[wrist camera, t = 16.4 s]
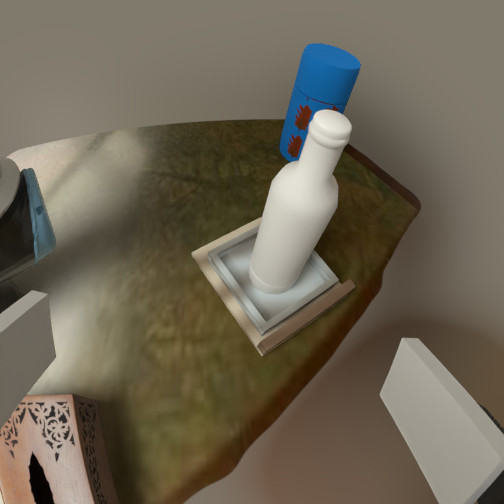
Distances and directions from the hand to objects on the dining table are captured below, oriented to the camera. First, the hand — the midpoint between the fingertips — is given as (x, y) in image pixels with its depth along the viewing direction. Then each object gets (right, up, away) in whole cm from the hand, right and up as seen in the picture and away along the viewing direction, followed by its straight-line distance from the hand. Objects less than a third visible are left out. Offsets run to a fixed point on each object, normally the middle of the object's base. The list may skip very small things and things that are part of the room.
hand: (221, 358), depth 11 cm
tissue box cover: (-25, -30, +22) cm, 45 cm away
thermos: (+12, +26, +60) cm, 66 cm away
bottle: (+4, 0, +42) cm, 42 cm away
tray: (+4, 0, +43) cm, 43 cm away
